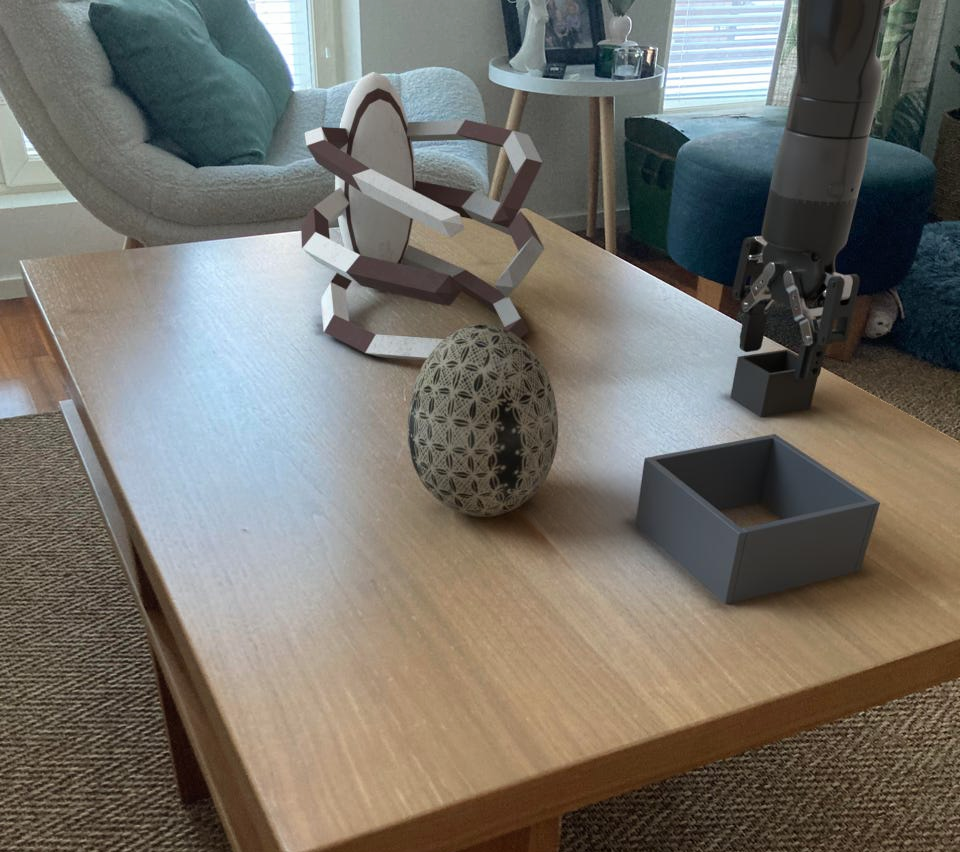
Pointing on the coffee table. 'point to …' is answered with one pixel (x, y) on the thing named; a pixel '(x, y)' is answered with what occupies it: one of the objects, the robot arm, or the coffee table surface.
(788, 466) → the grey bin
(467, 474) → the decorative egg
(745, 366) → the small bin
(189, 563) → the coffee table surface
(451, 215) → the segmented loop sculpture
